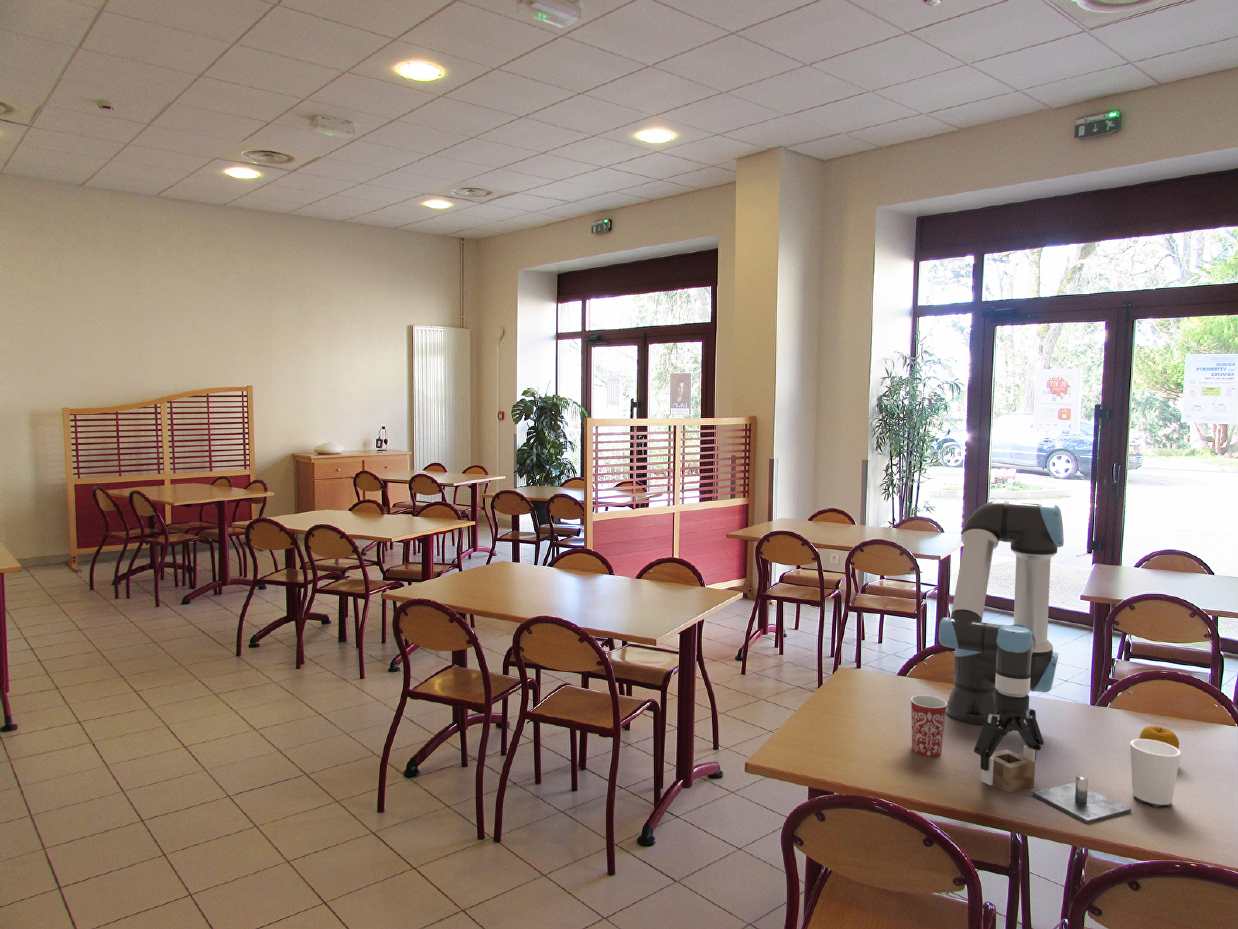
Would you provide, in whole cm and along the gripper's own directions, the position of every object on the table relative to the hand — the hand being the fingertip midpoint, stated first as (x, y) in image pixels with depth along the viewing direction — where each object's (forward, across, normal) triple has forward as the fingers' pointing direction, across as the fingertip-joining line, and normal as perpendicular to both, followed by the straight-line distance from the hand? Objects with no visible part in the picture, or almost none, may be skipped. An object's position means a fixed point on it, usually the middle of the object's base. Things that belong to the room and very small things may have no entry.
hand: (1007, 778), depth 196 cm
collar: (+1, 0, 0) cm, 1 cm away
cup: (+1, -24, +19) cm, 31 cm away
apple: (+1, -47, +5) cm, 47 cm away
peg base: (+1, -7, +14) cm, 16 cm away
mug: (+1, +4, -23) cm, 23 cm away
